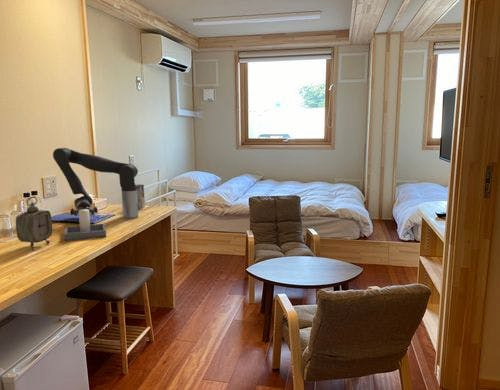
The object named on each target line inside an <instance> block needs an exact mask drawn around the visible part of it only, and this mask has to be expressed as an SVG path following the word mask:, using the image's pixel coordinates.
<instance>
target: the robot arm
mask: <svg viewBox="0 0 500 390" xmlns="http://www.w3.org/2000/svg"><path fill="white" fill-rule="evenodd" d="M52 157H53V160H54V161H55V163H56V164H57V166H58V167H59V169H60V171H61V172H62V174H63V175H64V177H65V179H66V180H67V181H66V182H68V183H67V184H68V185H69V187H70V190H71V192H72V194H73V195H82V196H80V197H77V198H75V200H73V201H74V206H75V209H74V208H73V207H71V208H70V215H71V216H73V215H74V217H77V216H79V210H81V209H89V215H92V216H93V215H95V214H98V207H97V206H94V207H93V208H92V207H91V206H92V205H93V198H92V197H91V196H90V195H89V194H88V193H87V191H86V189H85V187H84V185H83V183H82V181H81V179H80V178H79V176H78V175H77V174H76V173H75V171H74V170H73V168H72V167H71V164H76V165H79V166H82V167H84V168H85V169H88V170H91V171H94V172H99V173H110V174H117V175H119V185H120V189H121V205H122V206H121V207H122V209H121V210H122V218H123V219H134V218H139V210H138V202H137V186H136V185H137V184H136V182H135V177H137V175H138V174H139V172H138V171H139V170H138V168H137V166H135V165H134V164H132V163H124V162H118V161H116V160H111V159H108V158H105V157H102V156H99V155H93V154H88V153H82V152H79V151H76V150H73V149H70V148H67V147H59V148H55V149H54V150H53V153H52Z"/></svg>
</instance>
